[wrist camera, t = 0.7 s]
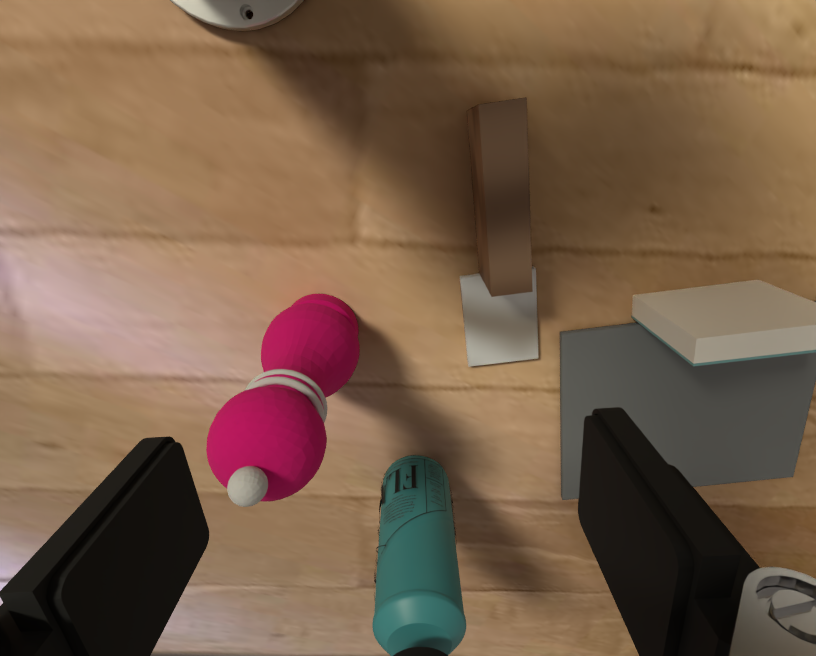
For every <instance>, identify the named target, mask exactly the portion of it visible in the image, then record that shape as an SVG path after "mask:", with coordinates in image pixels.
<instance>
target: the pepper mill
mask: <svg viewBox="0 0 816 656" xmlns="http://www.w3.org/2000/svg"><path fill="white" fill-rule="evenodd" d="M358 359H359V341H358V323H357V319H356V317H355V315H354V313H353V311H352V310H351V309H350V308H349V307H348V306H347V305H346V304H345V303H344V302H343V301H341V300H340V299H338V298H336V297H333V296H330V295H326V294H311V295H307V296H305V297H302V298H300V299H299V300H297V301H296V302H295V303H294V304H293V305H292V306H291V307H290V308H288V309H286V310H284V311H283V312H281V313H280V314H279V315H277V316H276V317H275V319H274V320H273V321H272V322H271V324H270V325H269V327H268V329H267V331H266V333H265V336H264V338H263V342H262V349H261V362H262V366H263V370H264V373H262V374H260V375H258V376H257V377H255V378H254V379H253V380H252V381H251V382H250V383H249V384H248V386H247V387H246V389H245V390H244V391H243V392H241V393H239V394H237V395H236V396H234V397H233V398H232V399H230V400H229V401H228V402H227V403H226V404H225V405H224V406H223V407H222V408H221V410H220V411H219V412H218V413H217V415H216V417H215V419H214V421H213V423H212V425H211V427H210V430H209V434H208V437H207V449H206V450H207V458H208V462H209V465H210V467H211V470H212V472H213V474H214V475H215V476H216V478H217V479H218V480H219V482H220V483H221V484H222V485H223V486H224V487H226V488H227V490H228V495H229V497H230V499H231V500H232V501H233V502H234V503H235V504H237V505H239V506H243V507H247V506H253V505H255V504H257V503H258V502H259V501H275V500H280V499H283V498H285V497H288V496H290V495H292V494H294V493H296V492H298V491H299V490H300V489H302V488H303V487H304V486H305V485H306V484H307V483H308V482H309V481H310V480H311V479H312V478H313V477H314V475H315V474H316V472H317V470H318V469H319V467H320V465H321V463H322V460H323V457H324V453H325V449H326V442H327V437H326V431H325V426H324V422H325V419H326V415H327V402H326V397H328V396H330V395H332V394H334V393H335V392H337V391H338V390H339V389H340V388H341V387H342V386H343V385H345V384H346V383H347V381H348V380H349V379H350V377H351V376H352V374H353V372H354V370H355V368H356V365H357V363H358Z"/></svg>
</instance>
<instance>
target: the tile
mask: <svg viewBox="0 0 816 656" xmlns="http://www.w3.org/2000/svg"><path fill="white" fill-rule="evenodd" d="M632 318H633V319H634V320H635V321H637V322H638V323H639V324H640V325H642V326H643V327H644V328H645V329H647V330H648V331H649V332H651V333H652V334H653V335H654V336H656V337H657V338H658V339H659V340H661V341H662V342H663V343H664V344H666V345H667V346H668V347H669V348H671V349H672V350H673V351H675V352H676V353H677V354H678V355H680V356H681V357H682V358H683V359H685V360H686V361H687V362H688V363H690V364H691V365H692V366H701V365H710V364H718V363H727V362H736V361H745V360H753V359H762V358H771V357H780V356H788V355H797V354H806V353H814V352H816V302H814V301H811V300H809V299H806V298H804V297H801V296H799V295H796V294H793V293H791V292H788V291H786V290H783V289H781V288H778V287H776V286H773V285H771V284H768V283H766V282H763V281H761V280H750V281H742V282H734V283H726V284H718V285H710V286H702V287H694V288H686V289H678V290H670V291H661V292H653V293H645V294H637V295H633V301H632Z"/></svg>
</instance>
